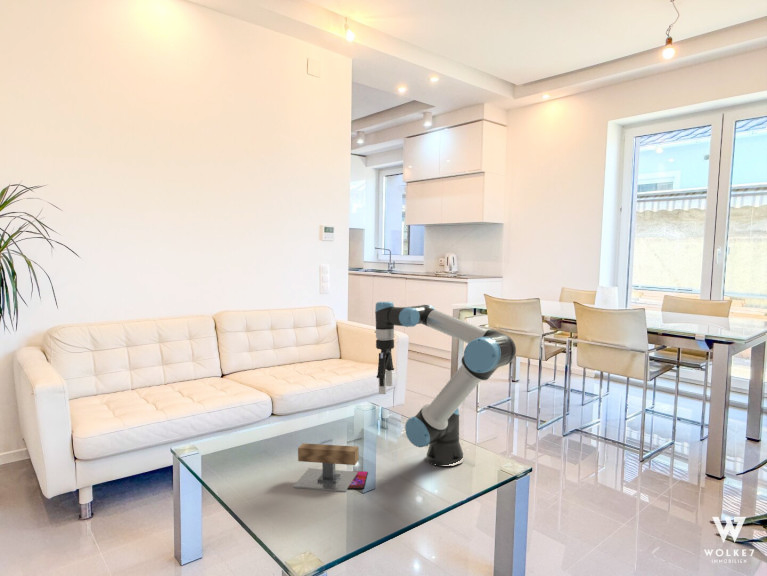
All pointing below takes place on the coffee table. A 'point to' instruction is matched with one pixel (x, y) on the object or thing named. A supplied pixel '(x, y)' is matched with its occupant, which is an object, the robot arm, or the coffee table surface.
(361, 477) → the smartphone
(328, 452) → the walnut bar
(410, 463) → the coffee table surface
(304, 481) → the stand
